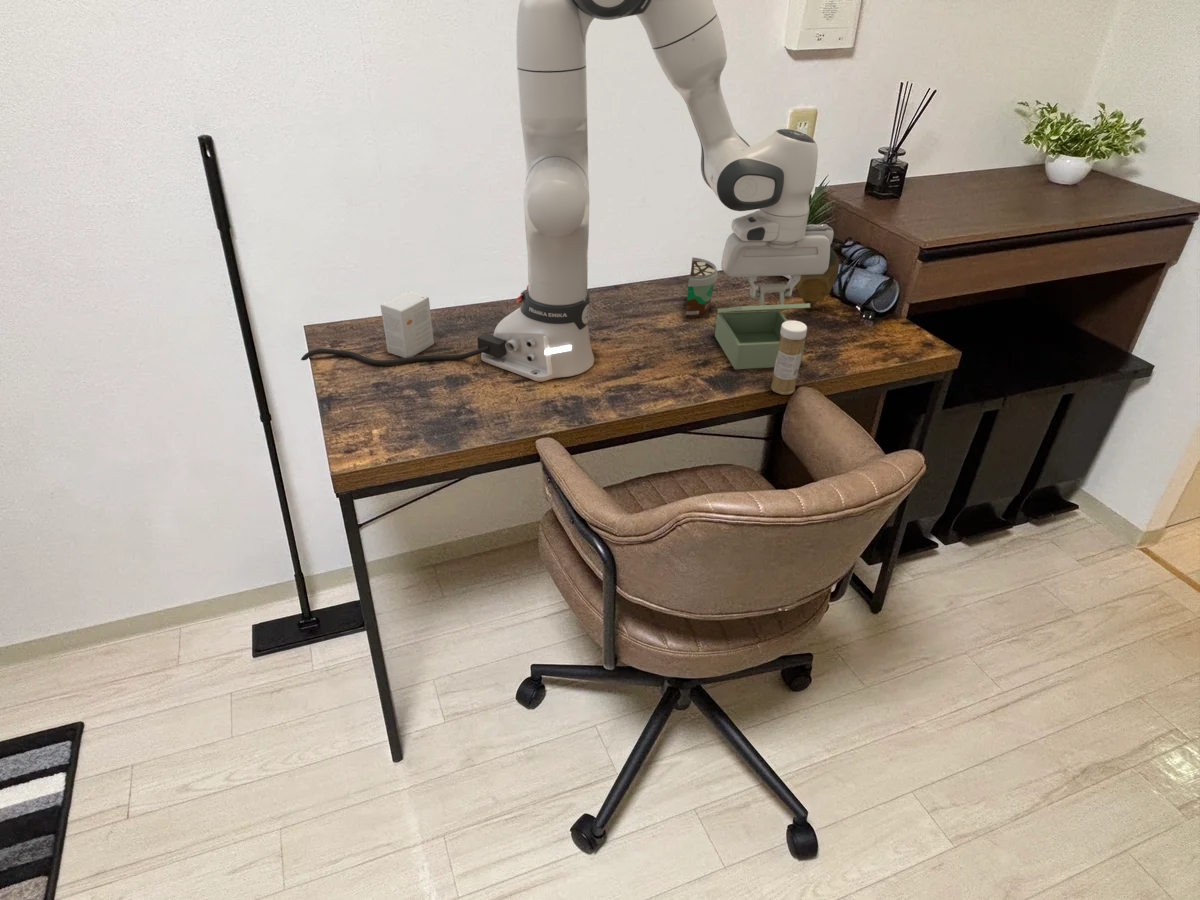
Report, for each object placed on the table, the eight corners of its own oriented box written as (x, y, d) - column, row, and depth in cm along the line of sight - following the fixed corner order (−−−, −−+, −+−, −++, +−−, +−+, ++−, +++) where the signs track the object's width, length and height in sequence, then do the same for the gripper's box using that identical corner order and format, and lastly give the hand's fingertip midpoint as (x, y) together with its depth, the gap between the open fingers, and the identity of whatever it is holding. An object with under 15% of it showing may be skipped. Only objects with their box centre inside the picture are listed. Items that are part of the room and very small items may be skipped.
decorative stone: (798, 315, 173) (810, 250, 164) (786, 304, 178) (797, 241, 169) (837, 312, 175) (851, 248, 166) (824, 301, 180) (837, 238, 171)
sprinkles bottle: (781, 381, 148) (792, 317, 140) (799, 391, 145) (813, 326, 138) (765, 388, 146) (776, 323, 138) (784, 398, 143) (796, 332, 135)
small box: (414, 337, 159) (408, 289, 153) (435, 344, 157) (429, 296, 151) (386, 352, 154) (379, 303, 148) (407, 360, 151) (401, 310, 145)
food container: (712, 323, 169) (718, 279, 163) (684, 320, 169) (688, 277, 164) (714, 300, 179) (719, 258, 173) (688, 297, 179) (692, 256, 174)
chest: (800, 365, 153) (805, 341, 150) (734, 369, 152) (738, 345, 149) (775, 333, 165) (779, 310, 162) (714, 336, 163) (717, 313, 160)
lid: (810, 307, 147) (810, 281, 146) (741, 310, 145) (741, 284, 144) (780, 310, 162) (779, 287, 161) (717, 312, 160) (717, 289, 159)
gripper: (828, 218, 145) (815, 287, 153) (723, 220, 142) (715, 291, 150) (842, 229, 140) (827, 300, 148) (733, 232, 137) (724, 304, 145)
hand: (770, 295), depth 149 cm, fingers closed on lid, 5 cm apart
